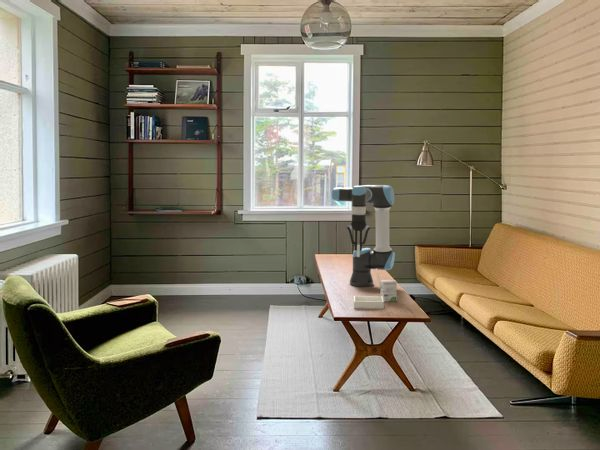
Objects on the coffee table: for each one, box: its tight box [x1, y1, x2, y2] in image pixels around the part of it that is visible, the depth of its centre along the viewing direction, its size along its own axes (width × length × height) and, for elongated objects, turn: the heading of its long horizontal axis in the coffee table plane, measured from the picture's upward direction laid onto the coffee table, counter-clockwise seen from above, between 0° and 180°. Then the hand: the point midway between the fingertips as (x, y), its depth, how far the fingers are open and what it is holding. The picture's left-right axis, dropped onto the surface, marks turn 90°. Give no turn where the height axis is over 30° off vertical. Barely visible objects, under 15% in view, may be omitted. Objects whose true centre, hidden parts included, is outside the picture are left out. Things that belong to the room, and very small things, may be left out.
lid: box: [375, 268, 385, 301], centre depth 347 cm, size 12×16×1 cm
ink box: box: [379, 279, 398, 303], centre depth 360 cm, size 8×5×12 cm, turn 101°
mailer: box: [353, 295, 385, 310], centre depth 348 cm, size 12×16×4 cm
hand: (358, 256), depth 345 cm, fingers closed
